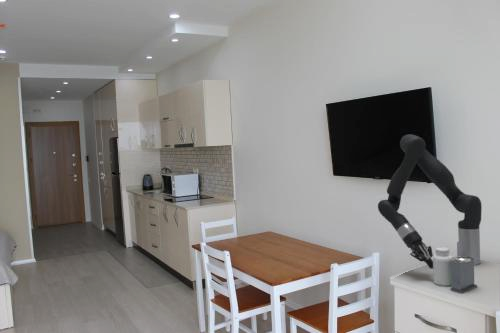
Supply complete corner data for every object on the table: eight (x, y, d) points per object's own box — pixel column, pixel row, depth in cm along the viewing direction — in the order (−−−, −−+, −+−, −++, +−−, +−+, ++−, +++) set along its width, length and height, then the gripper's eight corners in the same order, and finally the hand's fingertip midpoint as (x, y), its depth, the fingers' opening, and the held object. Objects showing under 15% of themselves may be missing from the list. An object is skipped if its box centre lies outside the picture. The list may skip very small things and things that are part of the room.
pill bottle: (429, 282, 187) (428, 248, 186) (442, 278, 190) (441, 245, 189) (444, 287, 180) (443, 252, 179) (458, 283, 183) (457, 249, 182)
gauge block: (448, 289, 177) (447, 258, 176) (463, 283, 183) (462, 253, 183) (462, 293, 172) (461, 261, 171) (477, 286, 178) (476, 256, 178)
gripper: (404, 232, 192) (429, 266, 182) (423, 228, 199) (448, 260, 189) (395, 242, 196) (418, 275, 187) (413, 237, 203) (437, 268, 194)
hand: (433, 267), depth 188 cm, fingers closed
